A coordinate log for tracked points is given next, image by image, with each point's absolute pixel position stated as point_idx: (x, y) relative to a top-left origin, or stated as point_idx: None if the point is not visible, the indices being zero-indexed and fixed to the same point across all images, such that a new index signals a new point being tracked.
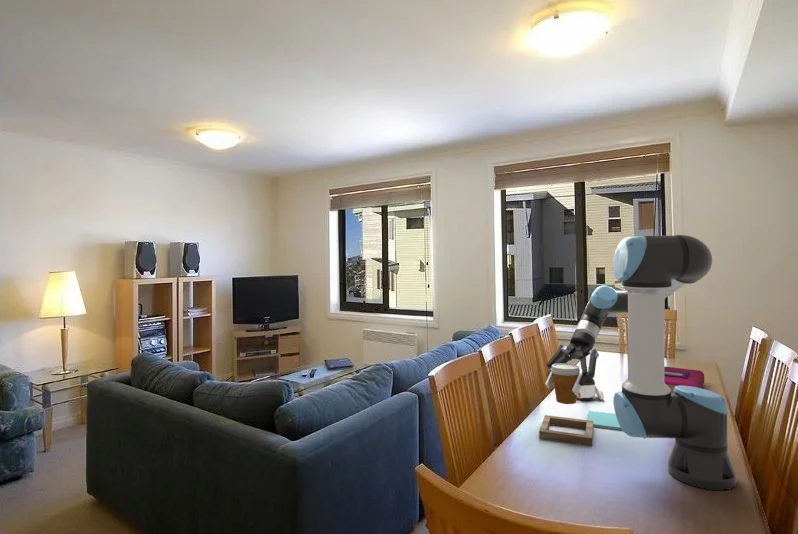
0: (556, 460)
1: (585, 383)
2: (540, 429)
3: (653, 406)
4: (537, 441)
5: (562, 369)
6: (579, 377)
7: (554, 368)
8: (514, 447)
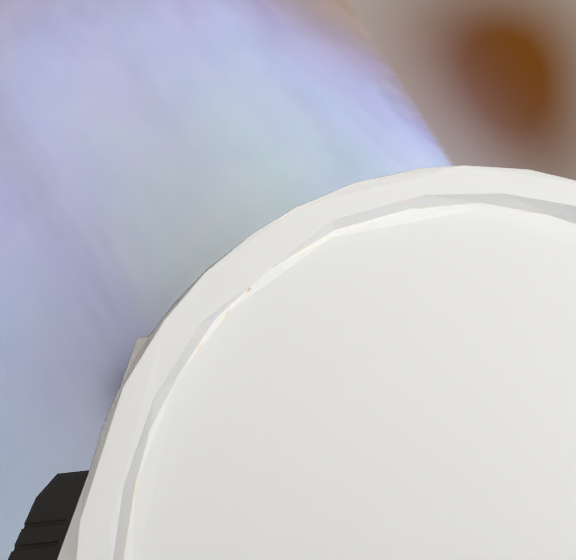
0: (152, 146)
1: None
2: None
3: None
4: None
5: (312, 201)
6: (76, 519)
7: (543, 187)
8: (359, 99)
